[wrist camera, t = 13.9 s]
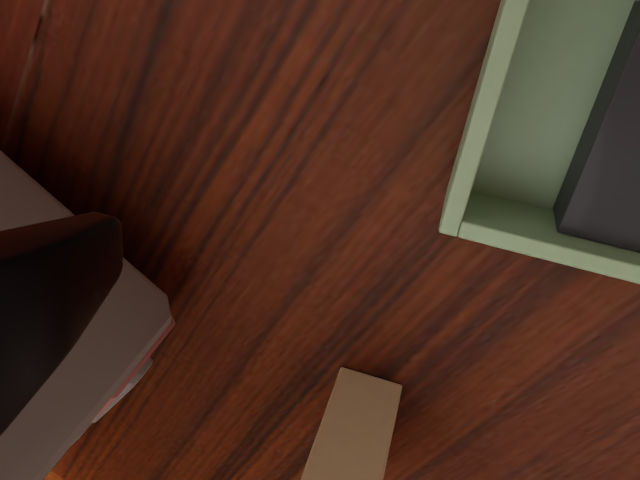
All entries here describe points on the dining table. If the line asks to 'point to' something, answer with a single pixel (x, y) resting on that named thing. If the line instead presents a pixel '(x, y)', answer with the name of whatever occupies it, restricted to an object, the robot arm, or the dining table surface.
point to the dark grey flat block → (608, 155)
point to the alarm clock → (78, 348)
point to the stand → (355, 429)
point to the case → (534, 131)
